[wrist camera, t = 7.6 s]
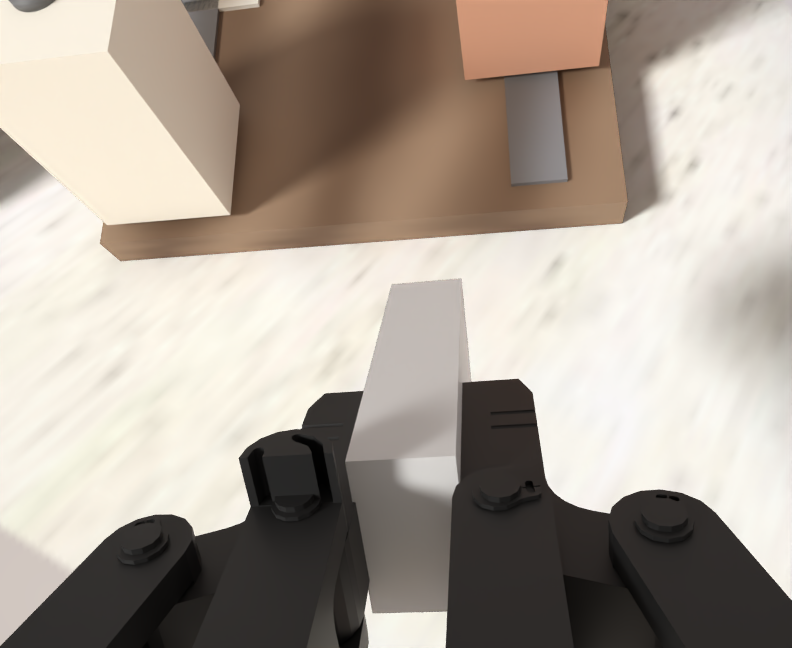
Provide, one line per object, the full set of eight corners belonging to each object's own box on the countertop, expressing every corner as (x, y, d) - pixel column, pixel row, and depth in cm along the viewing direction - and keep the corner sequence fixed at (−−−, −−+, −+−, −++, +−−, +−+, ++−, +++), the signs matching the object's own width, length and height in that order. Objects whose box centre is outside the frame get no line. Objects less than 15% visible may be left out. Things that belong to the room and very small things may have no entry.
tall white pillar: (107, 225, 29) (-70, 64, 20) (123, 117, 31) (-33, -74, 22) (230, 214, 28) (101, 43, 20) (239, 104, 30) (125, -98, 21)
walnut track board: (120, 261, 31) (97, 241, 29) (157, -5, 36) (139, -35, 34) (622, 223, 28) (628, 198, 26) (587, -61, 33) (590, -97, 31)
